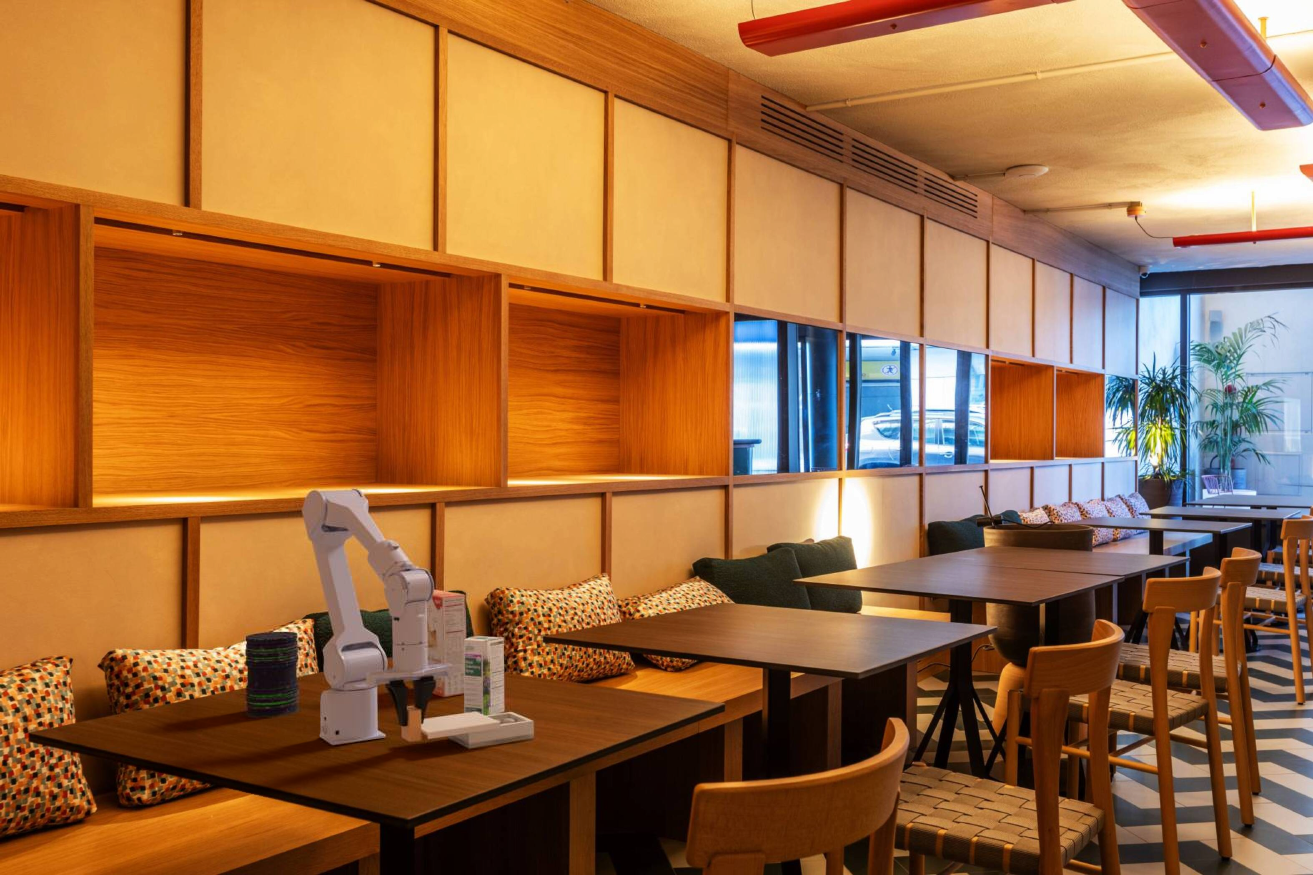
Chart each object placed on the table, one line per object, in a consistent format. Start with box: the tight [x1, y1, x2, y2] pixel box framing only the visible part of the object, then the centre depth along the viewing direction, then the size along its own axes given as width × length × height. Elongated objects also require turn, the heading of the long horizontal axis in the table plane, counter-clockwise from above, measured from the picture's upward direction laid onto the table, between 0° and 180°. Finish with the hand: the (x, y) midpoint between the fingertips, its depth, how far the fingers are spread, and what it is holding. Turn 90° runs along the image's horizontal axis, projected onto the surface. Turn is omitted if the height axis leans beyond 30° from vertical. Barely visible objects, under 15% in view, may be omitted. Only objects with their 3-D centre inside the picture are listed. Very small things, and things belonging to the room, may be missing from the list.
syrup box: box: [463, 635, 505, 716], centre depth 218 cm, size 6×6×14 cm
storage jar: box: [244, 631, 300, 718], centre depth 223 cm, size 10×10×15 cm
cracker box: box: [427, 589, 467, 698], centre depth 241 cm, size 14×6×21 cm, turn 39°
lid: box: [400, 705, 500, 743], centre depth 194 cm, size 15×10×5 cm
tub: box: [448, 711, 535, 749], centre depth 198 cm, size 12×9×3 cm
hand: (411, 724), depth 191 cm, fingers closed
